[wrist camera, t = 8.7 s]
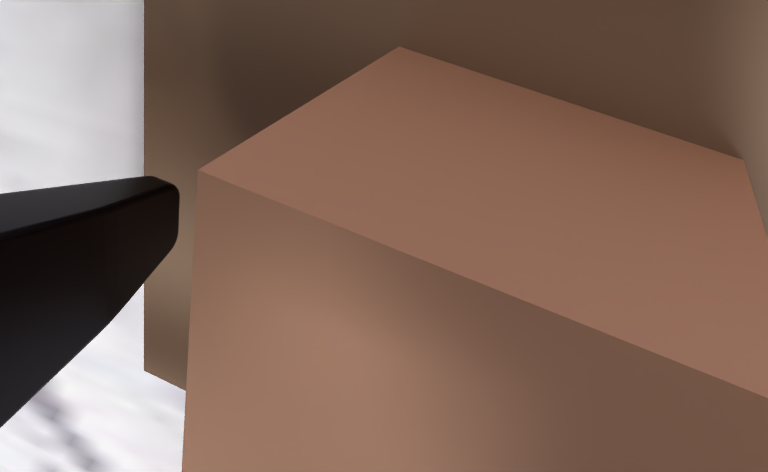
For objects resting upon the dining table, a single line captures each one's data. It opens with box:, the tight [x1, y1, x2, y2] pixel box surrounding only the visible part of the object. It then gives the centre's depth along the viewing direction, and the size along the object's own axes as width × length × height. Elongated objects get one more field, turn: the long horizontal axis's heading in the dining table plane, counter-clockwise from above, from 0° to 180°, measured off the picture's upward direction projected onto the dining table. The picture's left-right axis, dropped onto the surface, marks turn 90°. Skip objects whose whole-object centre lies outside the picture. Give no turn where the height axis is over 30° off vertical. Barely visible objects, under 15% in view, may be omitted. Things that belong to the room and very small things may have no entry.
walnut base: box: [144, 0, 768, 391], centre depth 11 cm, size 14×14×3 cm
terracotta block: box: [182, 47, 768, 472], centre depth 8 cm, size 5×5×5 cm
